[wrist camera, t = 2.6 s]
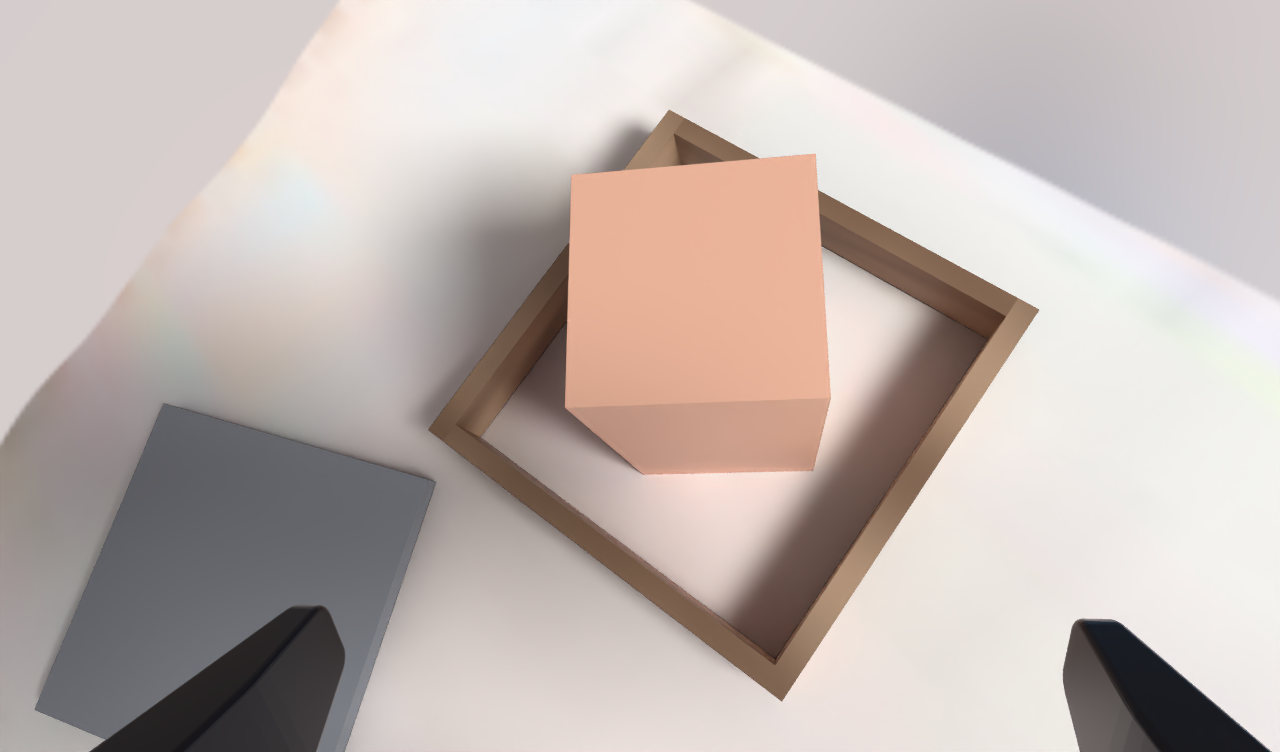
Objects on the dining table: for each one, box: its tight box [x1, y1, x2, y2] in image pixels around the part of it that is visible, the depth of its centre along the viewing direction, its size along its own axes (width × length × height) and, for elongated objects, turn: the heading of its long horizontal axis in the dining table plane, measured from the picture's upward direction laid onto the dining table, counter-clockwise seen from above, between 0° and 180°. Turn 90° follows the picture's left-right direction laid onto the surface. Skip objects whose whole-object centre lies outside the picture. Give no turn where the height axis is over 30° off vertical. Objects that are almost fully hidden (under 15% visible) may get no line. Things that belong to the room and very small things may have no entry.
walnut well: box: [428, 110, 1039, 701], centre depth 23 cm, size 12×12×2 cm
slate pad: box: [35, 404, 436, 752], centre depth 25 cm, size 10×10×1 cm
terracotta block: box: [565, 154, 831, 474], centre depth 20 cm, size 5×5×9 cm
